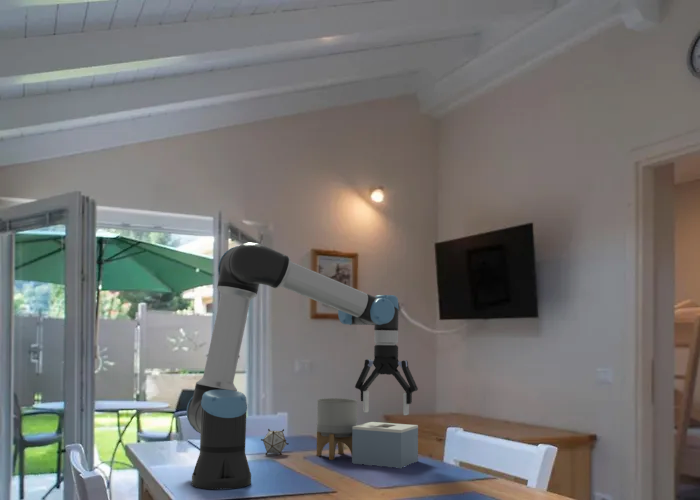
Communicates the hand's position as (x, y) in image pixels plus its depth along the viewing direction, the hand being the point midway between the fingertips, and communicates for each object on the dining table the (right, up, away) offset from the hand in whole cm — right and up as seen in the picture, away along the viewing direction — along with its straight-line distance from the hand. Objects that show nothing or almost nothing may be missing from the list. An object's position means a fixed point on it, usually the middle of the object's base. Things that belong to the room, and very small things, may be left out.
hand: (385, 413), depth 219 cm
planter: (-15, -16, +8) cm, 23 cm away
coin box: (0, -15, -2) cm, 15 cm away
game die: (-36, -16, +10) cm, 40 cm away
